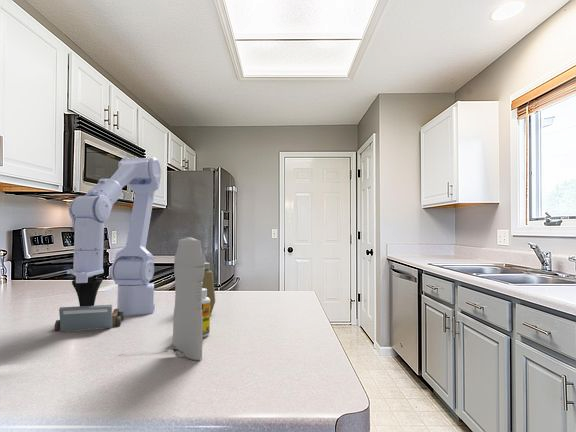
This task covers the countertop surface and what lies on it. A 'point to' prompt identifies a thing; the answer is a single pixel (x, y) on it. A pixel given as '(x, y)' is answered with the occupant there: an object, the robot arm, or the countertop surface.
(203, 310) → the supplement bottle
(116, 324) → the cart bed
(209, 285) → the squeeze bottle
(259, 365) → the countertop surface
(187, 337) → the tall pale column
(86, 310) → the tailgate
